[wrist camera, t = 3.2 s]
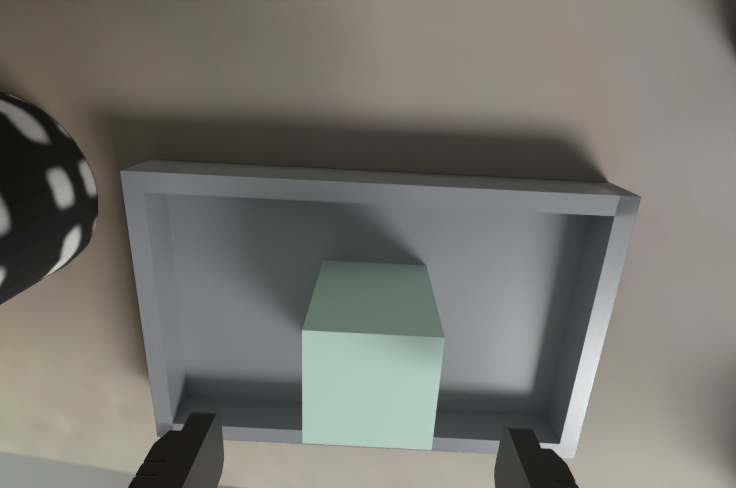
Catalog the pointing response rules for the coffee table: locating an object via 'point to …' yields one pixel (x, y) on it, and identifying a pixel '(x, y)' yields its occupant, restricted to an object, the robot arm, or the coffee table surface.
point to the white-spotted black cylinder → (40, 197)
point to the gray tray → (374, 245)
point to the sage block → (371, 357)
